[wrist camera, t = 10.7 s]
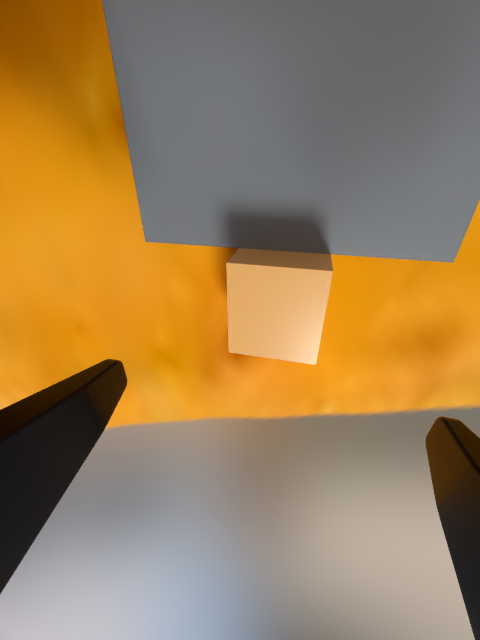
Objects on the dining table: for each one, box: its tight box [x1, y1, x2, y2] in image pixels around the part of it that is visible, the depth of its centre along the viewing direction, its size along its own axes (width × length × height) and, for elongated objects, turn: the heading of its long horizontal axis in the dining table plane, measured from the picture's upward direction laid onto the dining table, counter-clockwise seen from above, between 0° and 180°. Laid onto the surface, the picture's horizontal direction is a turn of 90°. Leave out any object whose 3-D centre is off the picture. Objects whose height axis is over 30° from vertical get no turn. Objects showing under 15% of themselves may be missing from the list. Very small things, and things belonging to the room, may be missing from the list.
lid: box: [102, 0, 480, 365], centre depth 10 cm, size 13×17×3 cm
